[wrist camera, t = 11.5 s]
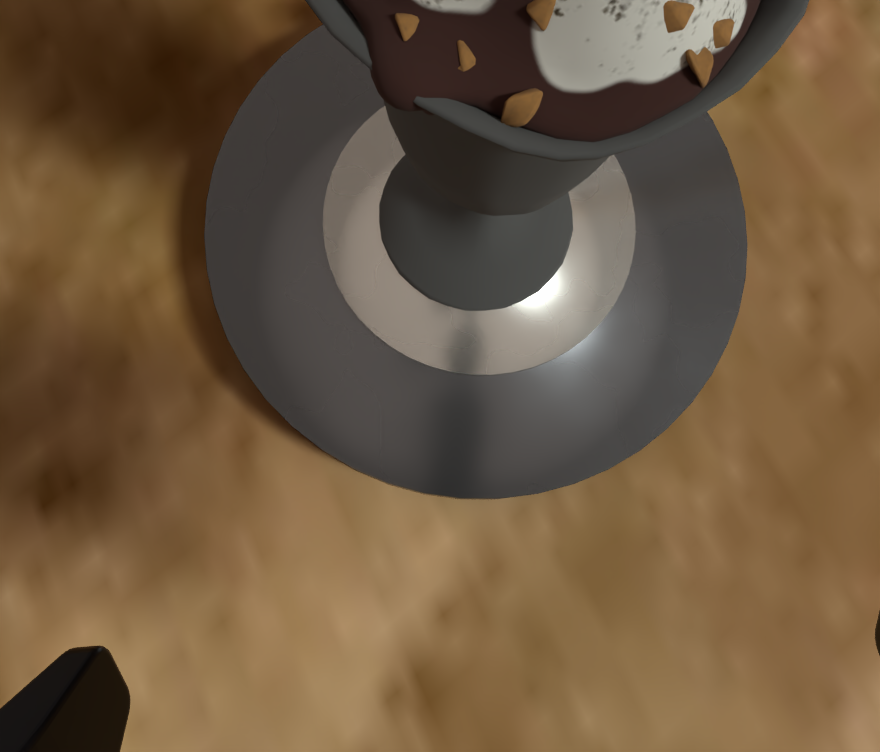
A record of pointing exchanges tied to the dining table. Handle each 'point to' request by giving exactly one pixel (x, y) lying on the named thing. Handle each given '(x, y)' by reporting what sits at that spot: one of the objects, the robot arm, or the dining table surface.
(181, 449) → the dining table surface
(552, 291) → the plate
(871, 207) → the dining table surface
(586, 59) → the sundae
